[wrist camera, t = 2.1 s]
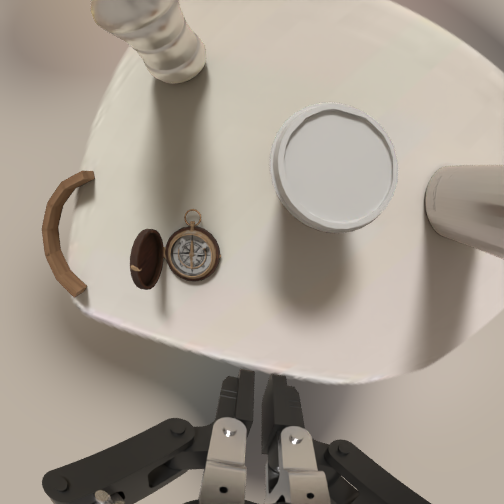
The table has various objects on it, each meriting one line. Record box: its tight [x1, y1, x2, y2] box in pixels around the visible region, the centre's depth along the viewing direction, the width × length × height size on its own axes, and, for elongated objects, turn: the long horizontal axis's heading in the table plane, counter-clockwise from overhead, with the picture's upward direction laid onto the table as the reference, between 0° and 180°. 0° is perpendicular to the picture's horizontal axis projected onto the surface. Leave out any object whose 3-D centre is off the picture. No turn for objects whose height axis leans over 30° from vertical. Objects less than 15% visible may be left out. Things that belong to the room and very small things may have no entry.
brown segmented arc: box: [42, 171, 95, 298], centre depth 30 cm, size 6×16×2 cm, turn 168°
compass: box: [130, 209, 221, 290], centre depth 28 cm, size 8×8×7 cm
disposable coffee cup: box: [270, 102, 398, 233], centre depth 23 cm, size 10×10×12 cm
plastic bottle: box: [91, 0, 206, 84], centre depth 17 cm, size 6×7×20 cm
